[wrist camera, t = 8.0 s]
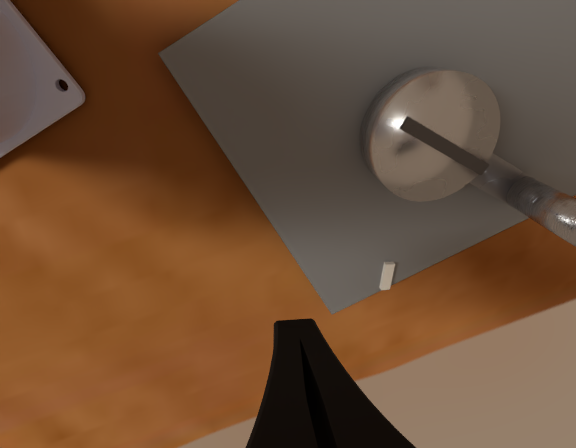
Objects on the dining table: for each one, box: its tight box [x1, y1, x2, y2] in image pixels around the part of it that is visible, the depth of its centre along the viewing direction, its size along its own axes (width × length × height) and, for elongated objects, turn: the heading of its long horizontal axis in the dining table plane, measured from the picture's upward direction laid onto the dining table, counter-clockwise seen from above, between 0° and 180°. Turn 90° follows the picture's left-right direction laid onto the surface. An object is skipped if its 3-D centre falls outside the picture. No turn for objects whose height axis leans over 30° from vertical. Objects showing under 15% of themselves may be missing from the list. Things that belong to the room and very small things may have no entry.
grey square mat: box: [158, 0, 576, 314], centre depth 18 cm, size 18×18×1 cm
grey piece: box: [360, 67, 576, 246], centre depth 16 cm, size 11×6×5 cm, turn 62°
